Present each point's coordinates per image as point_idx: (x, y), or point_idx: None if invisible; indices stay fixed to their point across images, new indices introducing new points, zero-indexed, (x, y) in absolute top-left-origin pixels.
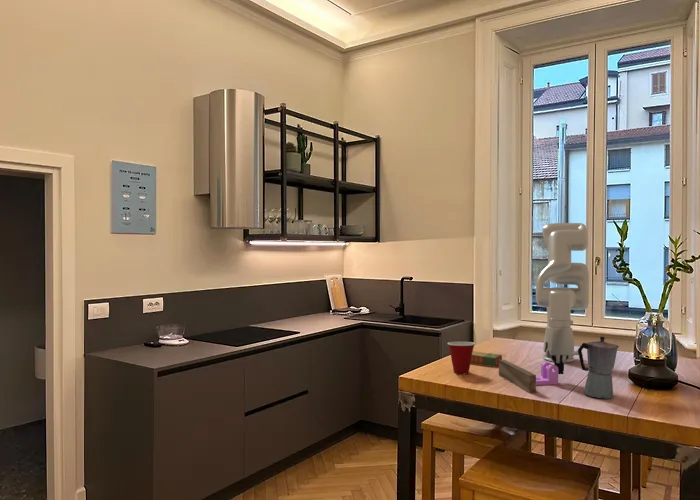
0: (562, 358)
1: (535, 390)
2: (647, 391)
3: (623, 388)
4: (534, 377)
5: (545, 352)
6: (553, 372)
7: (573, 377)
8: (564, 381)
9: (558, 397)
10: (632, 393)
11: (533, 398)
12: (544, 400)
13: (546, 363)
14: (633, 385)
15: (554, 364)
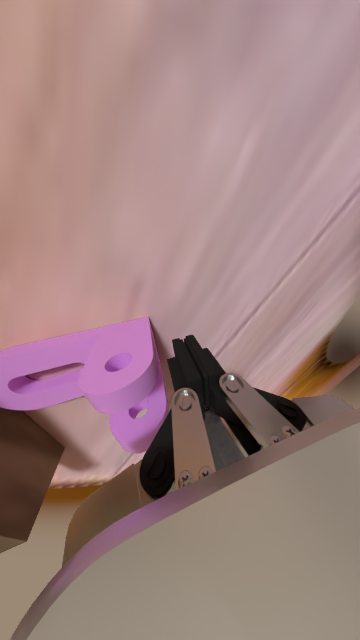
0: (235, 437)
1: (59, 456)
2: (306, 378)
3: (287, 369)
4: (25, 527)
5: (64, 573)
6: (143, 407)
7: (254, 273)
8: (194, 330)
9: (121, 454)
10: (275, 394)
11: (53, 479)
12: (82, 478)
13: (112, 408)
14: (322, 345)
15: (173, 384)
